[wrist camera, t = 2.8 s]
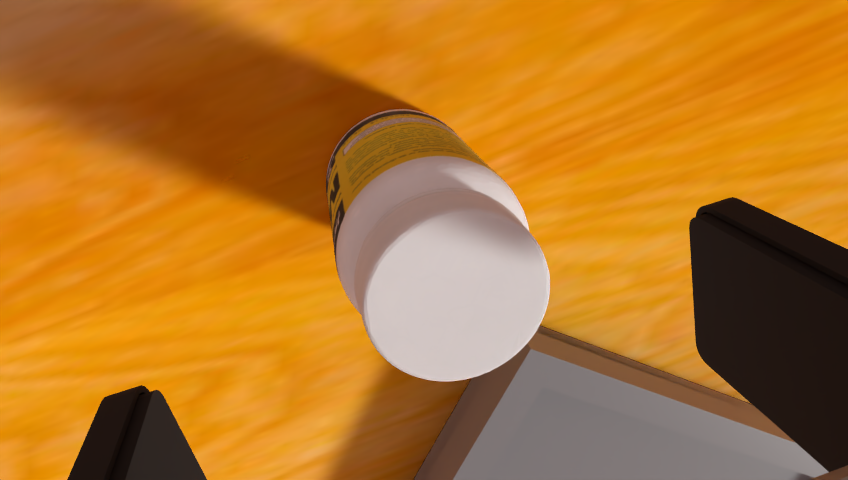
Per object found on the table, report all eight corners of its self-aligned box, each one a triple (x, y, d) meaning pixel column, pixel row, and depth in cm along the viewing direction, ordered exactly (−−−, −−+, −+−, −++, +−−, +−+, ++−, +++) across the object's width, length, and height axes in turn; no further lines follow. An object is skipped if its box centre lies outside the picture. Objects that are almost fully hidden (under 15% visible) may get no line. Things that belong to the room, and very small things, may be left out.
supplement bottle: (300, 141, 19) (300, 246, 11) (440, 83, 19) (534, 148, 12) (359, 269, 21) (394, 430, 13) (487, 215, 21) (593, 345, 14)
